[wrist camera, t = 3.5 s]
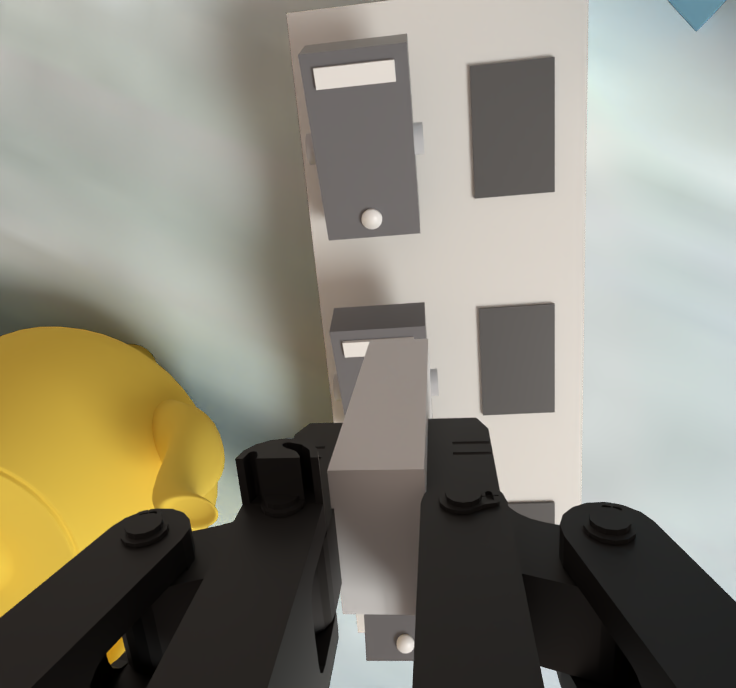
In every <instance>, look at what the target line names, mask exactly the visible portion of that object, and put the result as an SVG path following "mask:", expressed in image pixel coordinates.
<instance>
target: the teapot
mask: <svg viewBox="0 0 736 688" xmlns="http://www.w3.org/2000/svg"><path fill="white" fill-rule="evenodd" d="M224 462H225V457H224V448H223V444H222V440H221V437H220V434H219V432H218V430H217V428H216V426H215V424H214V423H213V421H212V420H211V419H210V418H209V417H208V416H207V415H206V414H205V413H204V412H202V411H201V410H200V409H198V408H197V407H196V406H195V404H194V403H193V402H192V400H191V399H190V398H189V396H188V395H187V393H186V392H185V391H184V389H183V388H182V387H181V386H180V385H179V384H178V383H177V382H176V380H175V379H174V378H173V377H172V376H171V375H170V374H169V373H168V372H167V371H165V370H164V369H163V368H162V367H161V366H160V365H158V364H157V363H156V361H155V359H154V357H153V355H152V354H151V353H150V352H149V351H148V350H147V349H145V348H143V347H142V346H139V345H135V344H125V343H124V342H122V341H119V340H117V339H114V338H111V337H109V336H106V335H104V334H100V333H96V332H92V331H88V330H84V329H76V328H68V327H36V328H29V329H22V330H18V331H15V332H12V333H9V334H5V335H2V336H0V617H1V616H3V615H4V614H5V613H6V612H8V611H9V610H10V609H11V608H13V607H14V606H15V605H16V604H17V603H19V602H20V601H21V600H22V599H24V598H25V597H26V596H27V595H28V594H30V593H31V592H32V591H33V590H35V589H36V588H37V587H38V586H39V585H41V584H42V583H43V582H44V581H46V580H47V579H48V578H49V577H50V576H52V575H53V574H54V573H55V572H57V571H58V570H59V569H60V568H61V567H63V566H64V565H65V564H66V563H68V562H69V561H70V560H71V559H72V558H74V557H75V556H76V555H77V554H79V553H80V552H81V551H82V550H83V549H85V548H86V547H87V546H88V545H90V544H91V543H92V542H93V541H94V540H96V539H97V538H98V537H99V536H101V535H102V534H103V533H104V532H105V531H107V530H108V529H109V528H110V527H112V526H113V525H115V524H116V523H118V522H120V521H121V520H123V519H124V518H126V517H129V516H132V515H134V514H137V513H138V512H140V511H144V510H150V509H156V508H159V509H175V510H178V511H181V512H184V513H185V514H186V516H187V517H188V518H189V519H190V524H191V529H192V531H195V530H200V529H205V528H208V526H210V525H212V524H213V523H214V522H215V521H216V520H217V518H218V511H217V509H216V507H215V504H216V498H217V484H218V480H219V479H220V477H221V475H222V472H223V469H224ZM124 652H125V647H124V643H123V639H122V637H121V638H120V639H119V640H118V641H117V643H116V644H115V645H114V646H113V647H112V648H111V649H110V650H109V651H108V652H107V653H106V654H107V658H108V662H109V663H110V664H112V663H113V662H114V661H116V660H117V659H118V658H119V657H120V656H121V655H122V654H123V653H124Z"/></svg>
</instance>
